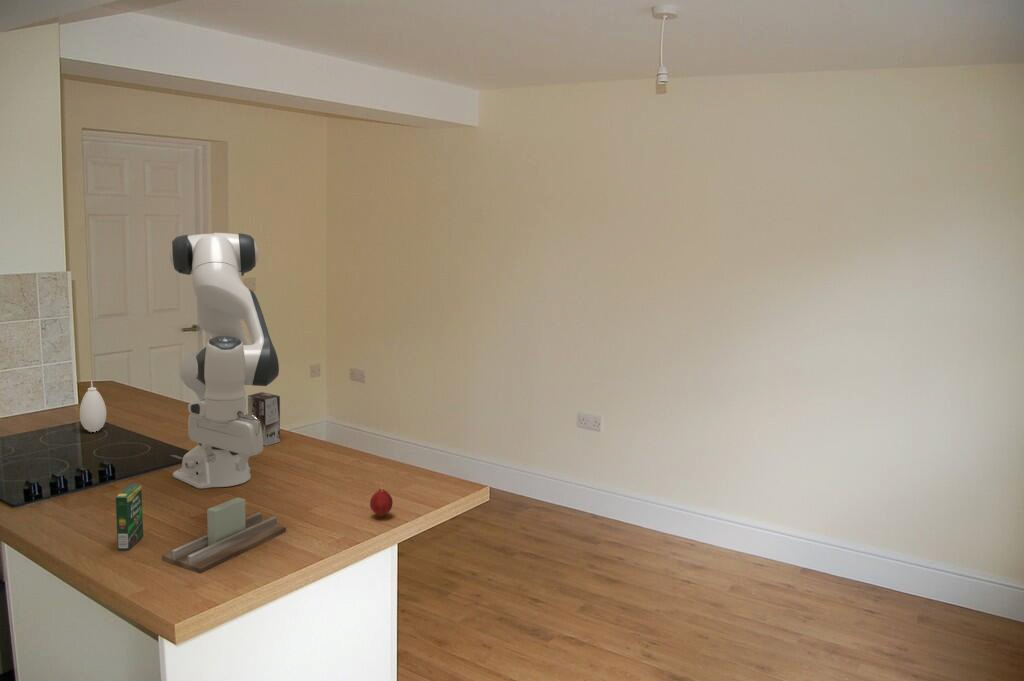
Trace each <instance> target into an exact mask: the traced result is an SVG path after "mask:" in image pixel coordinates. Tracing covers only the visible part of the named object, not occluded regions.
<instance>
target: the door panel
mask: <svg viewBox="0 0 1024 681" xmlns="http://www.w3.org/2000/svg"><path fill="white" fill-rule="evenodd" d="M206 512H207V513H206V516H207V518H206V519H207V535H208V546H210V545H212V544H214V543H216V542H219V541H221V540H223V539H225V538H227V537H230V536H232V535H234V534H236V533H238V532H240V531H243V530H245V529H246V526H245V518H246V499H245V498H241V497H238V496H237V497H235V498H232V499H230V500H227V501H225V502H222V503H221V504H217V505H215V506H213V507H209V508H208V509H206Z"/></svg>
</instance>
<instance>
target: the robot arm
mask: <svg viewBox="0 0 1024 681" xmlns="http://www.w3.org/2000/svg"><path fill="white" fill-rule="evenodd" d="M168 255H169V260H170V263H171V265H172V266H173V268H174V270H175V271H176V272H177V273H179V274H181V275H188V276H190V275H191V276H192V277H191V278H192V279H191V280H192V286H193V291H194V294H195V296H196V306H197V317H198V325H199V328H200V329H201V330H203V332H205V333H208V334H210V335H211V337H212V338H210V339H208V341H207V343H206V346H204V348H202V349H199V350H197V351H194V352H193V353H190V354H188V355H186V356H184V357H183V358H182V359H181V361H180V364H179V369H178V370H179V371H178V373H179V377H180V380H181V381H182V383H183V384H184V385H185V386H186V387H187V388H189V389H190V390H192V391H193V392H194V393H195V395H196V396H197V398H198V400H197V401H195V402H192V403H191V402H190V403H188V405H187V409H188V413H189V415H188V418H187V419H188V420H187V433H188V434H187V435H188V437H189V439H190V441H192V442H194V443H198V444H197V445H196V446H194V447H193V448H192V449H191V450H189V451H188V452H186V453H185V454H184V455H183V457H182V460H181V468H179V469H177V470H175V471H174V472H173V473H172V477H173V478H174V479H176V480H179V481H182V482H184V483H186V484H187V485H190V486H192V487H195V488H197V489H208V488H224V487H226V488H227V487H234V486H238V485H241V484H244V483H246V482H249V480H251V478H252V475H251V471H252V470H251V467H250V466H249V459H250V457H254V456H256V455H259V454H261V453H262V452H263V450H264V445H263V437H262V430H261V426H260V421H259V420H258V419H257V418H256V416H255V415H252V414H248V412H247V411H246V410H247V394H246V389H245V386H252V387H253V386H255V387H257V386H259V387H268V385H270V384H271V383H273V382H274V380H276V379H277V378H278V377H279V375H280V374H279V372H280V360H279V357H278V356H279V355H278V353H277V351H276V349H275V346H274V343H273V342H272V339H271V336H270V332H269V330H268V327H267V323H266V320H265V317H264V314H263V311H262V307H261V306H260V302H259V300H258V297H257V295H256V293H255V292H254V291H253V290H251V289H250V288H248V287H247V286H246V285H245V284H244V283H243V282H242V280H241V277H240V274H241V276H242V277H243V276H244V275H245V274H246V273H248V272H251V271H252V270H253V269H254V268H255V267H256V264H257V263H258V259H259V248H258V246H257V243H256V242H255V239H254V237H253V236H252V235H250V234H247V233H241V232H239V233H238V234H237V233H229V232H213V233H200V234H199V233H198V234H192V235H188V234H183V235H179V236H176V237H175V238H173V240H172V242H171V245H170V247H169V254H168ZM242 321H243V322H244V323H245V325H246V327H247V330H248V333H249V337H250V340H249V338H248V336H247V335H246V331H245V330H244V327H243V323H242ZM255 419H256V420H255Z"/></svg>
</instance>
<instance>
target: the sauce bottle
mask: <svg viewBox="0 0 1024 681" xmlns="http://www.w3.org/2000/svg"><path fill="white" fill-rule="evenodd" d="M90 380H91V379H90ZM79 420H80V421H79V422H80V424H81V425H82V427H83V429H84V430H87V432H89V433H92V432H94V433H97V432H99V431H100V430H101V429H102V428H103V427H104V426H105V423H106V420H107V407H106V404H105V400H104V399H103V396H102V395H101V393H100V392H99V391H98V389H97V387H94V384H93V380H91V381H90V387H88V388H87V391H86V392H85V394H84V395H83V397H82V399H81V403H80V408H79ZM96 431H97V432H96Z"/></svg>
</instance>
